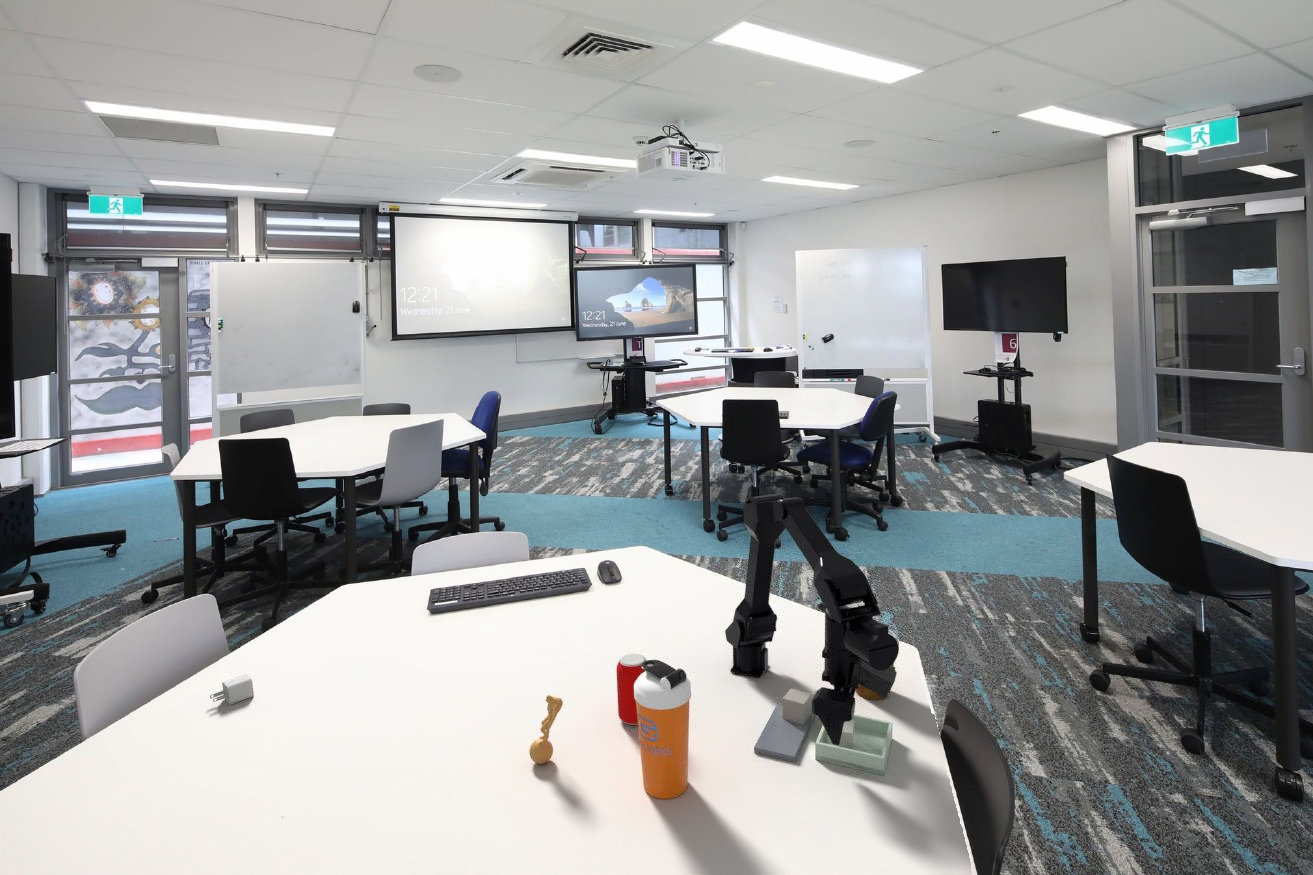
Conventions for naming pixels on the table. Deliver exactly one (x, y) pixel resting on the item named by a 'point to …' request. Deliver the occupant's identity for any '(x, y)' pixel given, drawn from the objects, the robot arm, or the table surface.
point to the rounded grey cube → (846, 736)
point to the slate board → (782, 736)
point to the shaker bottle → (663, 728)
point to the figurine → (545, 733)
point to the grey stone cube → (797, 706)
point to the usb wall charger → (235, 690)
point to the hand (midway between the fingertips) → (841, 729)
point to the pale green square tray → (859, 746)
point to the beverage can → (628, 686)
